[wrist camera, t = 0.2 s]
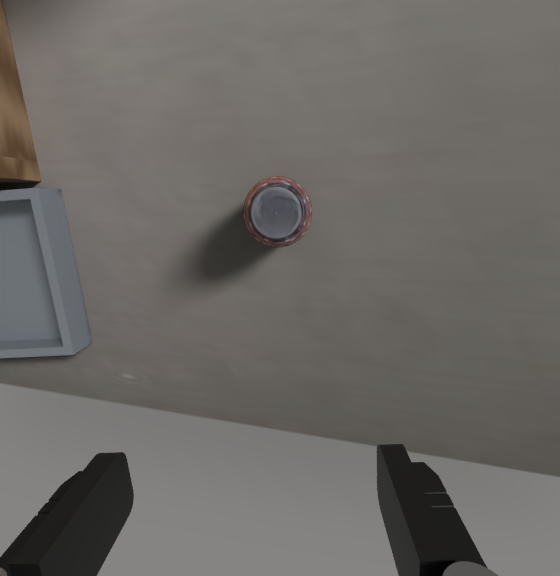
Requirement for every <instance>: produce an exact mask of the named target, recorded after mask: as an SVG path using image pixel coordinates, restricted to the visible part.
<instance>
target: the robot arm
mask: <svg viewBox="0 0 560 576" xmlns="http://www.w3.org/2000/svg"><path fill="white" fill-rule="evenodd" d="M377 490H378V499H379V505H380V510H381V513H382V517H383V520H384V524H385V527H386V531H387V535H388V538H389V542H390V546H391V549H392V553H393V557H394V560H395V563H396V567H397V571H398V574H399V576H498V575H497V574H496V573H494V572H493V571H491V570H490V569H488V568H487V567H486V565H485V563H484V561H483V559H482V558H481V556H480V554H479V552H478V550H477V548H476V546H475V544H474V542H473V541H472V539H471V537H470V535H469V533H468V531H467V529H466V527H465V525H464V524H463V522H462V520H461V518H460V516H459V514H458V512H457V510H456V509H455V508H454V505H453V503H452V501H451V499H450V497H449V495H448V494H447V493H446V490H445V488H444V486H443V484H442V482H441V480H440V478H439V476H438V475H437V474H436V473H435V472H434V471H433V470H432V469H431V468H430V467H428V466H427V465H426V464H425V463H424V462H413V463H411V461H410V458H409V456H408V454H407V452H406V449H405V447H404V446H403V445H402V444H390V445H378V446H377ZM133 497H134V494H133V487H132V483H131V478H130V473H129V468H128V463H127V458H126V455H125V454H124V453H122V452H121V453H120V452H119V453H99V454H97V455H96V456H95V457H94V458H93V459H92V460H91V462H90V463H89V464H88V465H87V467H86V468H85V469H84V470H83V471H79V472H77V473H76V474H75V475H74V476H72V477H71V478H70V479H68V480H67V481H66V482H64V483H63V484H62V485H61V486H60V487H59V488H58V489H57V491H56V492H55V493H54V494H53V495H52V497H51V498H50V499H49V502H48V503H46V504H45V505H44V506H43V507H42V509H41V510H40V511H39V512H38V515H37V516H35V517H34V518H33V519H32V520H31V522H30V523H29V524H28V525H27V526H26V528H25V529H24V530H23V531H22V532H21V533H20V535H19V536H18V537H17V538H16V539H15V541H14V542H13V543H12V544H11V545H10V546H9V548H8V549H7V550H6V551H5V552H4V554H3V555H2V556H1V557H0V576H97V574H98V572H99V570H100V568H101V567H102V565H103V563H104V561H105V559H106V557H107V555H108V553H109V552H110V550H111V548H112V546H113V544H114V542H115V541H116V539H117V536H118V535H119V533H120V531H121V529H122V527H123V526H124V524H125V522H126V520H127V518H128V516H129V514H130V512H131V509H132V505H133Z"/></svg>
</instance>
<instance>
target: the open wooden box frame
mask: <svg viewBox="0 0 560 576" xmlns="http://www.w3.org/2000/svg"><path fill="white" fill-rule="evenodd" d="M39 181H41V178H40V173H39V169H38V164H37V159H36V155H35V150H34V145H33V141H32V136H31V131H30V127H29V122H28V117H27V113H26V108H25V103H24V99H23V94H22V90H21V85H20V80H19V76H18V71H17V66H16V62H15V57H14V52H13V48H12V43H11V38H10V34H9V29H8V24H7V20H6V15H5V10H4V6H3V1H2V0H0V185H1V184H14V183H26V182H39Z"/></svg>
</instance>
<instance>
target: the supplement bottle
mask: <svg viewBox="0 0 560 576" xmlns="http://www.w3.org/2000/svg"><path fill="white" fill-rule="evenodd" d="M243 216H244V221H245V224H246V227H247V229H248V230H249V232H250V233H251V235H252V236H253V237H254V238H255V239H256V240H258V241H259V242H261V243H263V244H265V245H267V246H271V247H284V246H288V245H291V244H293V243H295V242H296V241H298V240H299V239H300V238H301V237H302V236H303V235H304V234H305V232H306V231H307V229H308V227H309V225H310V222H311V218H312V206H311V202H310V199H309V197H308V195H307V193H306V191H305V190H304V189H303V188H302V187H301V186H300V185H299V184H298V183H297V182H295V181H293V180H291V179H289V178H286V177H279V176H276V177H269V178H266V179H264V180H262V181H260V182H259V183H257V184H256V185H255V186H254V187H253V188H252V189H251V190H250V192H249V193H248V195H247V197H246V199H245V203H244V208H243Z"/></svg>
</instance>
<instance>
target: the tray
mask: <svg viewBox="0 0 560 576" xmlns="http://www.w3.org/2000/svg"><path fill="white" fill-rule="evenodd" d="M91 343H92V341H91V336H90V331H89V326H88V321H87V316H86V311H85V306H84V301H83V297H82V292H81V287H80V282H79V277H78V272H77V267H76V262H75V257H74V252H73V247H72V243H71V238H70V233H69V228H68V223H67V218H66V213H65V208H64V203H63V198H62V194H61V189H48V188H27V189H14V190H1V191H0V358H17V357H39V356H60V355H74V354H76V353H77V352H79V351H80V350H82V349H83V348H85V347H86V346H88V345H89V344H91Z"/></svg>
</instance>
